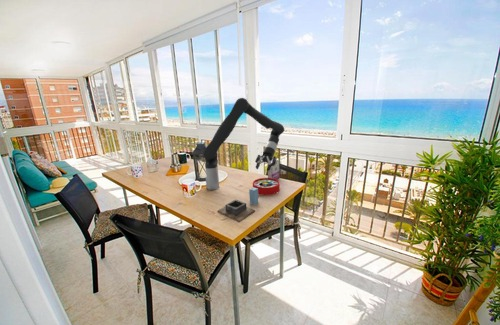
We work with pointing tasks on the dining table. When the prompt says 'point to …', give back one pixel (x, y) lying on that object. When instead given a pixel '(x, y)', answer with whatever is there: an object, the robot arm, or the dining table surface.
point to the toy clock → (266, 186)
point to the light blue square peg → (253, 195)
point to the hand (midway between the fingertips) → (262, 169)
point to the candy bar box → (274, 170)
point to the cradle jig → (236, 210)
